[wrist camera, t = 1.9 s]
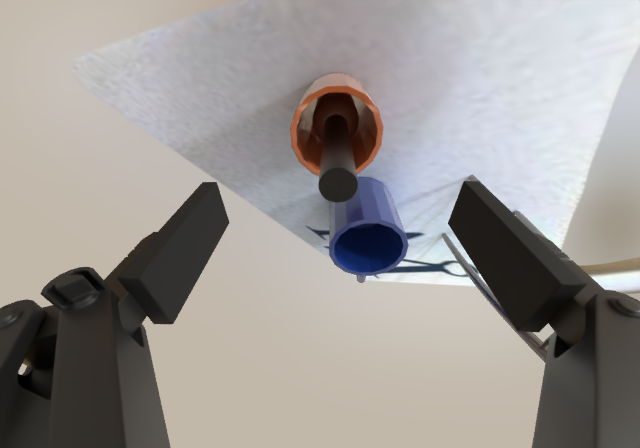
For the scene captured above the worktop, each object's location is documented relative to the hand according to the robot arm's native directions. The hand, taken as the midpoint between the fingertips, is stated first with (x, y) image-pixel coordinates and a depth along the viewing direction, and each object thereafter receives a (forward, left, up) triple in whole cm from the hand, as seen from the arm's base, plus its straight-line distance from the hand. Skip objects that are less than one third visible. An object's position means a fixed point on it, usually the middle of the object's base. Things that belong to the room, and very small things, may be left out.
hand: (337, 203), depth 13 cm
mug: (+15, +4, -20) cm, 25 cm away
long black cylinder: (0, 0, -19) cm, 19 cm away
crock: (0, 0, -20) cm, 20 cm away
